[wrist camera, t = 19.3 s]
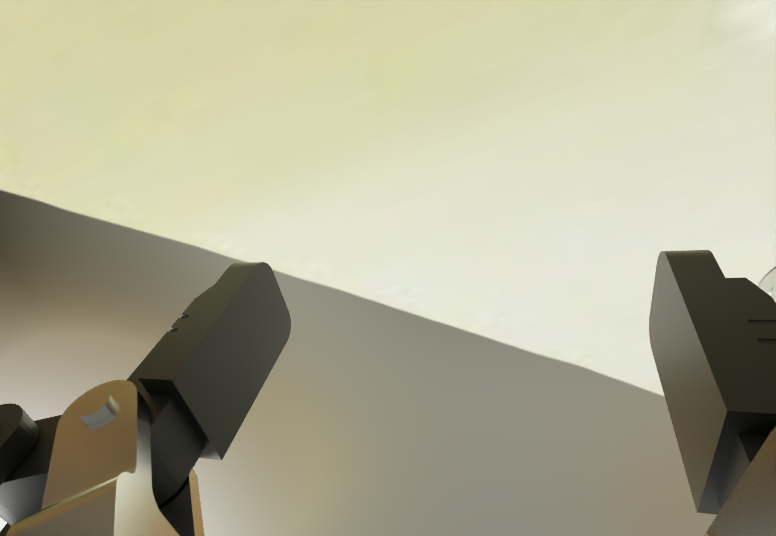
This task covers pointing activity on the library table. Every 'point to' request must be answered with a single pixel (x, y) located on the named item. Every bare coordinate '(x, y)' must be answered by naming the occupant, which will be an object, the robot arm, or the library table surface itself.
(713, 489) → the robot arm
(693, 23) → the library table surface
